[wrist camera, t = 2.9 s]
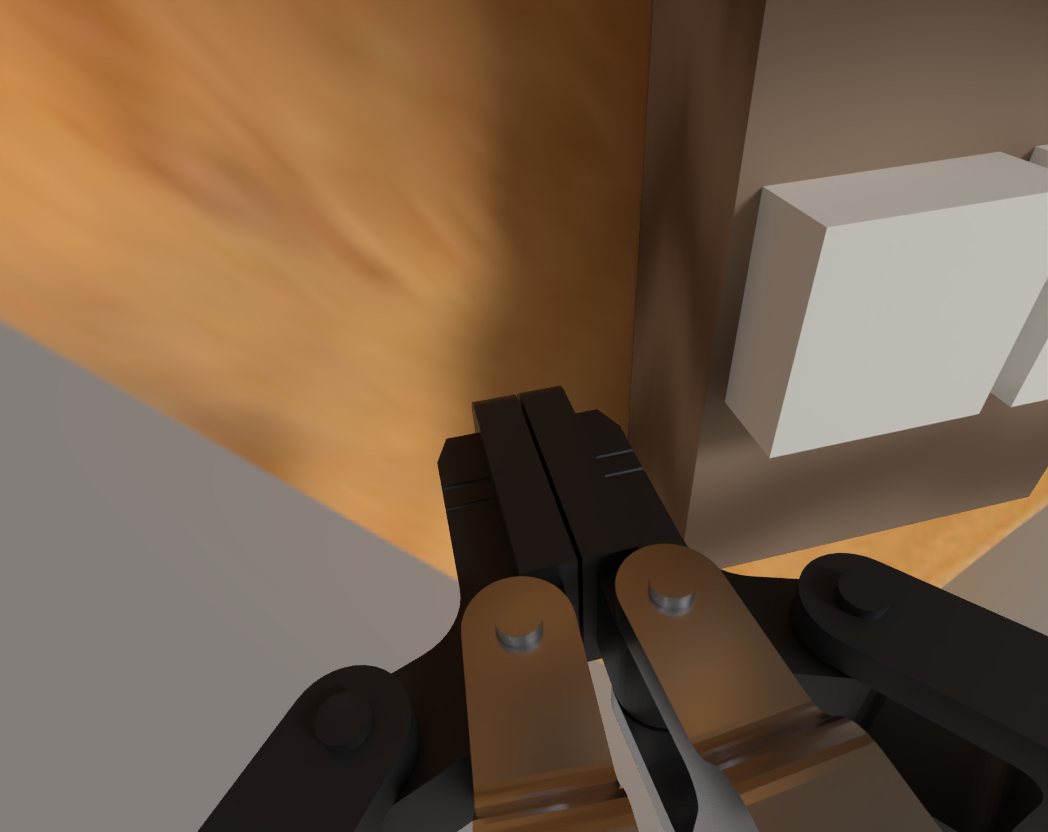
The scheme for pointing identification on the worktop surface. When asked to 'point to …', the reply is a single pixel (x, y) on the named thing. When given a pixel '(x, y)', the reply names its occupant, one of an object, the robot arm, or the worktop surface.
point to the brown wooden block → (728, 231)
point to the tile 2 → (1028, 344)
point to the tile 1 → (885, 298)
